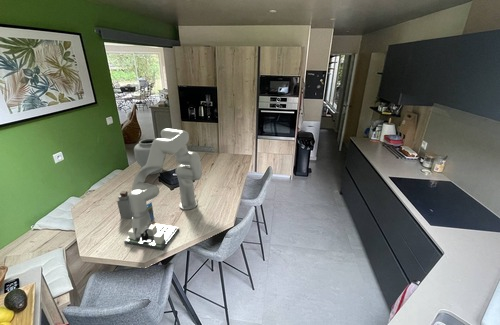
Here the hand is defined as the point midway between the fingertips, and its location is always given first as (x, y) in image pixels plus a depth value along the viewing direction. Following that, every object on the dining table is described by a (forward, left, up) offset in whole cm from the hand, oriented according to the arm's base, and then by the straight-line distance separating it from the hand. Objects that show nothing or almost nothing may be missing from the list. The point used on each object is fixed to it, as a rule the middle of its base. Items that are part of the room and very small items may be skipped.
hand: (145, 239), depth 133 cm
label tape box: (-19, -13, -3) cm, 24 cm away
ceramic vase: (-90, -55, -3) cm, 106 cm away
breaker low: (-1, -8, -1) cm, 8 cm away
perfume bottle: (-21, -28, -3) cm, 35 cm away
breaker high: (-1, +8, -1) cm, 8 cm away
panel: (-6, 0, -3) cm, 7 cm away
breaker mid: (-6, 0, -1) cm, 7 cm away
